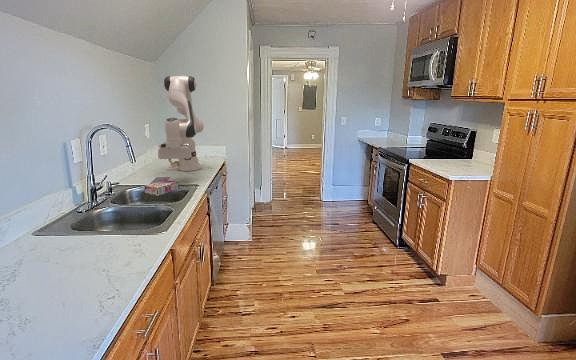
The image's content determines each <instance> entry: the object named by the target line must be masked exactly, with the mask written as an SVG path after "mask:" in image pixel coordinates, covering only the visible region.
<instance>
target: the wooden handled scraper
mask: <svg viewBox="0 0 576 360" xmlns="http://www.w3.org/2000/svg"><path fill="white" fill-rule="evenodd" d="M178 162H180V161H179V160H175V161H172V166H168V167H166V169H165V170H166V171H178V170H177V169H179V166H181V165H178Z"/></svg>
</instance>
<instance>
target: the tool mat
mask: <svg viewBox="0 0 576 360" xmlns="http://www.w3.org/2000/svg"><path fill="white" fill-rule="evenodd" d="M163 180H169V181H170V180H171V176H160V177H159V176H157V177H155V178H154V179H153V180H152V181H151V182H150V183H149V184H153V183H156V182H160V181H163Z"/></svg>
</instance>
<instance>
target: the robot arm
mask: <svg viewBox="0 0 576 360" xmlns="http://www.w3.org/2000/svg"><path fill="white" fill-rule="evenodd" d="M163 80H164V81H163V86H164V90H166V91H168V101H169V103H170V104H171V105H172V106H173V107H175V108H176V110H177V113H179V114H180V115H183V116H184V117H185V118H184V119H183V118H176V117H169V118H166V119H165V123H164V124H165V126H164V127H165V128H164V129H165V131H164V132H165V134H166V138H165V139H166V141H163V142H161V143H160V144H158V147H159V148H158V151H157V156H158V159H159V160H168V162H169V163H170V167H172V163H173V161H172V160H175V159H176V160H177V159H178V161H180V162H178V165H181V166H179V169H177V170H176V171H182V172H192V171H197V170H202V165H201V164H200V162H199V158H198V157H197V150H196V143H195V140H194V139H193V138H194V137H195V136H196V135H197V134H199V133H202V132H203V131H204V127H205V126H204V123H203V121H202V120H201V119H200V118H198V117H197V116H196V114H195V112H194V109H193V101H192V92H195V90H197V89H196V88H197V81H196V79H195V77H193V76H191V75H189V76H188V75H175V76H174V75H173V76H171V75H170V76H169V75H168V76H165V78H164V79H163Z"/></svg>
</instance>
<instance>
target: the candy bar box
mask: <svg viewBox="0 0 576 360" xmlns="http://www.w3.org/2000/svg"><path fill="white" fill-rule="evenodd" d="M179 187H180V186H179V182H178V181H174V180H170V179H169V180H163V181H160V182H156V183H153V184H150V183H149V184H146V185H144V193H145V194H148V195H151V196H152V195H153V196H157V197H159V196H162V195H164V194H168V193H171V192H173V191H174V190H175V191H176V190H178V189H180V188H179Z"/></svg>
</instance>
